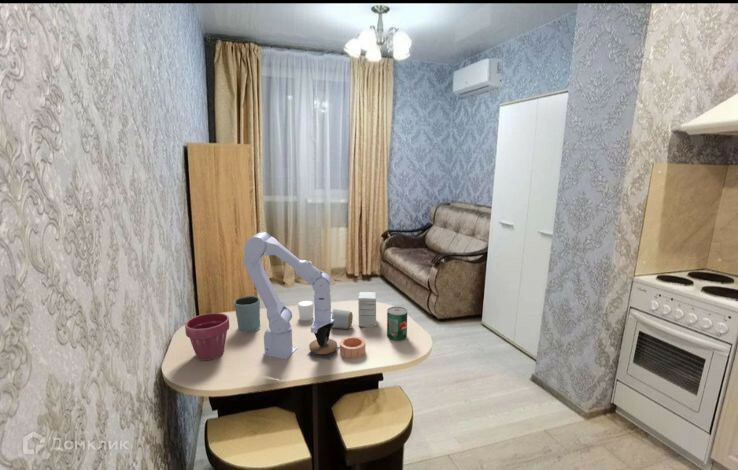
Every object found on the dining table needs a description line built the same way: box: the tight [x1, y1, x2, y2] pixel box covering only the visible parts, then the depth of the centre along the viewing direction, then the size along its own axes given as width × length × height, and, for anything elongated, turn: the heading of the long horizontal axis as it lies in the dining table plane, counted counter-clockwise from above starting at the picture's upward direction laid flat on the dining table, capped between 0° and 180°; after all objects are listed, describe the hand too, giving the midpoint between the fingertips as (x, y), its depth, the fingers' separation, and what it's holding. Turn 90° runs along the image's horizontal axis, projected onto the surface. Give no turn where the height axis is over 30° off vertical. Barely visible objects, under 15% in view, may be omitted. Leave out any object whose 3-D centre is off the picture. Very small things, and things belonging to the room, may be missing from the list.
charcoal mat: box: [306, 346, 340, 361], centre depth 133 cm, size 9×9×1 cm
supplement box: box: [357, 291, 377, 328], centre depth 156 cm, size 7×7×13 cm
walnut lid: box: [308, 336, 338, 354], centre depth 132 cm, size 10×10×4 cm
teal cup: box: [233, 295, 261, 333], centre depth 151 cm, size 10×10×12 cm
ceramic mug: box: [331, 308, 354, 330], centre depth 153 cm, size 11×8×8 cm
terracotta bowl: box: [339, 336, 366, 359], centre depth 132 cm, size 9×9×4 cm
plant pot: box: [184, 312, 230, 361], centre depth 131 cm, size 14×14×13 cm
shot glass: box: [297, 299, 314, 322], centre depth 161 cm, size 7×7×7 cm
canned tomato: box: [386, 306, 409, 342], centre depth 144 cm, size 8×8×11 cm
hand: (323, 342), depth 132 cm, fingers closed on walnut lid, 3 cm apart
